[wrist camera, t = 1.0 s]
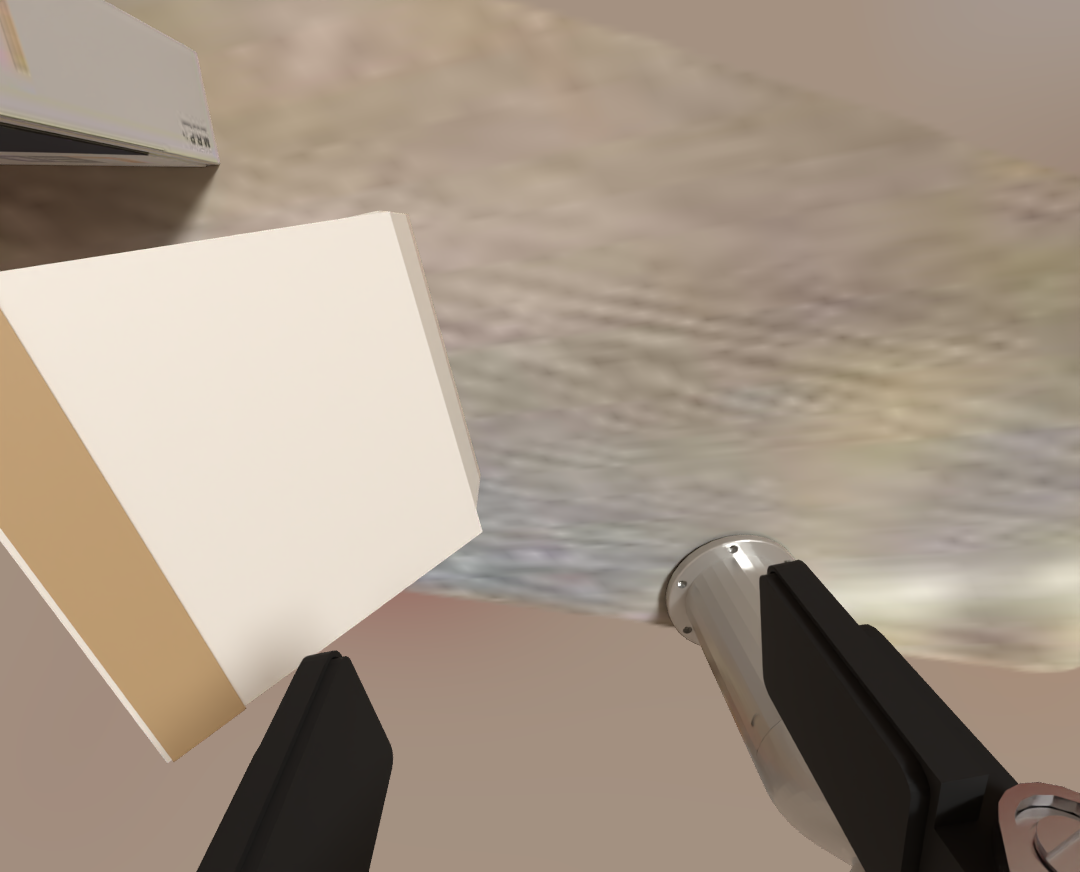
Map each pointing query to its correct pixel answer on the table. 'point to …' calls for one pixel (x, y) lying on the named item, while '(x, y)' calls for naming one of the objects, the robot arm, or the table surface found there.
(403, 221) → the box
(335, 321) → the lid
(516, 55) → the table surface
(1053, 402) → the table surface
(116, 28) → the packaging
